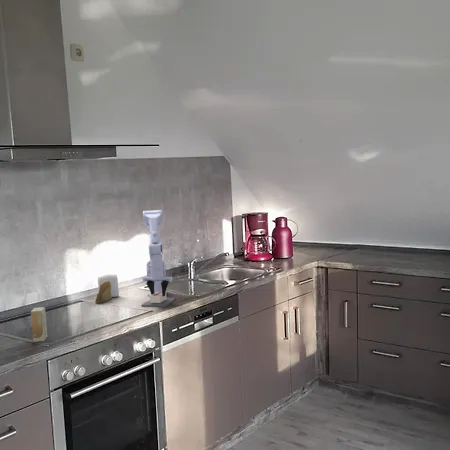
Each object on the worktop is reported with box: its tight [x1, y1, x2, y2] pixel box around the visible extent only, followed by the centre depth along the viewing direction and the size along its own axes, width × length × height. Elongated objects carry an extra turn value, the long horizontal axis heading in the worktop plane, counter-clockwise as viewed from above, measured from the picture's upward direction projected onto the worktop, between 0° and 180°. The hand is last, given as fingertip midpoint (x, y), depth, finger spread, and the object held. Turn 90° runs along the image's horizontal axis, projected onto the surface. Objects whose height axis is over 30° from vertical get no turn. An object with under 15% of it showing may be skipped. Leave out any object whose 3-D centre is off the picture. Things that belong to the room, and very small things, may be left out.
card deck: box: [149, 292, 167, 303], centre depth 276 cm, size 5×9×4 cm, turn 166°
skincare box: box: [30, 306, 48, 343], centre depth 223 cm, size 6×4×12 cm
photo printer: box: [97, 273, 120, 298], centre depth 294 cm, size 10×4×12 cm, turn 116°
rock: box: [95, 281, 112, 304], centre depth 287 cm, size 11×9×10 cm
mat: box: [141, 297, 176, 308], centre depth 276 cm, size 14×12×1 cm
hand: (158, 295), depth 276 cm, fingers closed on card deck, 5 cm apart
